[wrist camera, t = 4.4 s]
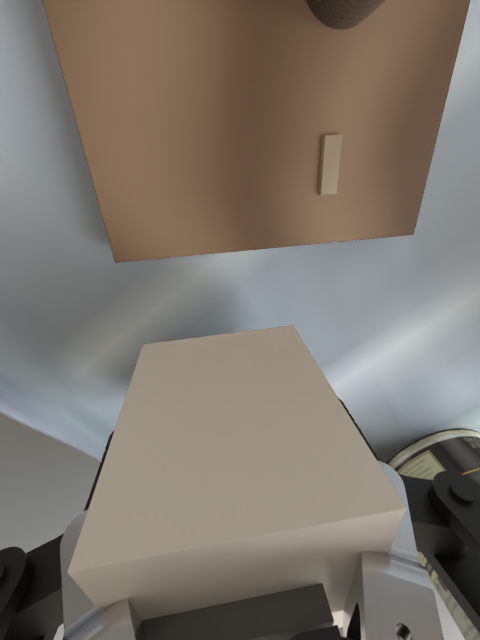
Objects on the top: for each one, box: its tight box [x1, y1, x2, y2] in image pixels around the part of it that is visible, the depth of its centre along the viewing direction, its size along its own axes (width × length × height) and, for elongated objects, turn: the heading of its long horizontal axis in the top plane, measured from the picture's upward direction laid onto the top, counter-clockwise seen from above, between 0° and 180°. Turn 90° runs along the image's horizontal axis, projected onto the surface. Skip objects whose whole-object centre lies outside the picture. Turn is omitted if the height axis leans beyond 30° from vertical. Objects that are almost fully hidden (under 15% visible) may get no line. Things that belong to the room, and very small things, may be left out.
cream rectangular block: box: [68, 325, 406, 640], centre depth 9 cm, size 6×6×8 cm
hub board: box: [42, 0, 470, 263], centre depth 8 cm, size 12×13×2 cm
